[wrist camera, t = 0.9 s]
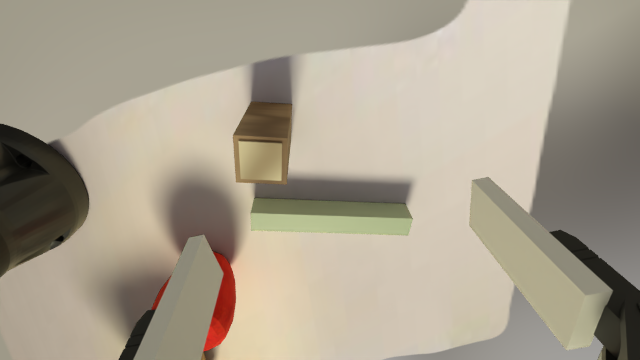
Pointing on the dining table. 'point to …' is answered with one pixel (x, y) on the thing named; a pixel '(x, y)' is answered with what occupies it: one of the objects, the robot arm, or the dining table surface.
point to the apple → (217, 305)
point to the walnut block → (263, 143)
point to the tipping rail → (330, 217)
